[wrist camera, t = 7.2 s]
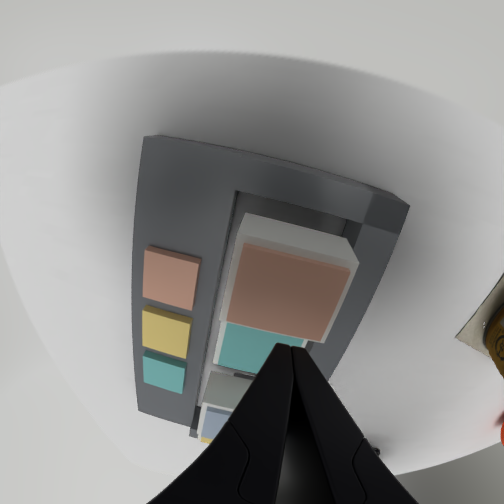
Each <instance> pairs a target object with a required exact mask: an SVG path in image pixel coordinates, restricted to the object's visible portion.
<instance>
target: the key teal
mask: <svg viewBox="0 0 504 504" xmlns="http://www.w3.org/2000/svg"><path fill="white" fill-rule="evenodd" d="M307 341H308V340H304V339H299V338H294V337H289V336H284V335H279V334H275V333H270V332H266V331H261V330H257V329H252V328H248V327H244V326H240V325H236V324H231V323H227V322H223V321H221V325H220V329H219V334H218V339H217V344H216V349H215V353H214V358H213V363H214V364H218V365H221V366H225V367H229V368H234V369H238V370H242V371H247V372H251V373H256V374H257V373H258V372H259V370H260V368H261V367H262V365H263V363H264V362H265V360H266V358H267V357H268V355H269V354H270V352H271V350H272V349H273V347H274V345H275V344H276V343H277V342H279V343H283V344H288V345H290V347H291V346H298V347H303V348H305V346H306V344H307Z"/></svg>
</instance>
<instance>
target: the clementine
mask: <svg viewBox="0 0 504 504" xmlns="http://www.w3.org/2000/svg"><path fill="white" fill-rule="evenodd" d="M501 441H502V444H503V445H504V422H503V424H502V428H501Z"/></svg>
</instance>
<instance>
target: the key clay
mask: <svg viewBox="0 0 504 504" xmlns="http://www.w3.org/2000/svg"><path fill="white" fill-rule="evenodd" d="M358 265H359V261H358V259H357V257H356V255H355V254H354V252H353V250H352V248H351V246H350V244H349V242H348V240H347V238H343V237H340V236H336V235H332V234H329V233H325V232H321V231H317V230H313V229H310V228H306V227H302V226H298V225H294V224H290V223H286V222H282V221H278V220H274V219H270V218H266V217H262V216H258V215H254V214H250V213H246V212H245V215H244V217H243V220H242V222H241V225H240V227H239V229H238V232H237V236H236V240H235V245H234V250H233V254H232V259H231V264H230V268H229V273H228V278H227V282H226V287H225V292H224V297H223V301H222V306H221V311H220V316H219V321H223V322H227V323H231V324H236V325H240V326H244V327H248V328H252V329H257V330H261V331H266V332H270V333H275V334H279V335H284V336H289V337H294V338H299V339H304V340H309V341H314V342H319V343H324V342H325V340H326V338H327V336H328V334H329V332H330V330H331V327H332V325H333V323H334V321H335V319H336V317H337V315H338V312H339V310H340V308H341V306H342V303H343V301H344V299H345V297H346V294H347V292H348V290H349V287H350V285H351V282H352V280H353V278H354V275H355V273H356V270H357V268H358Z"/></svg>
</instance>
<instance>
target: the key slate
mask: <svg viewBox="0 0 504 504" xmlns="http://www.w3.org/2000/svg"><path fill="white" fill-rule="evenodd" d="M254 378H255V377H253V376H248V375H243V374H239V373H234V376H231V375H227V374H223V373H218V372H214V371H211V373H210V377H209V380H208V384H207V388H206V391H205V395H204V398H203V402H202V407H201V413H200V418H199V423H198V429H197V434H200V435H201V437H205V438H209V439H214V438H215V437H216V435H217V434H218V433H219V431H220V430H221V428H222V427H223V425H224V424H225V422H226V421H227V420H228V418H229V417H230V415H231V414H232V412H233V411H234V409H235V408H236V406H237V405H238V403H239V401H240V400H241V398H242V397H243V395H244V394H245V392H246V391H247V389H248V387H249V386H250V384H251V383H252V381H253V380H254Z"/></svg>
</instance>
